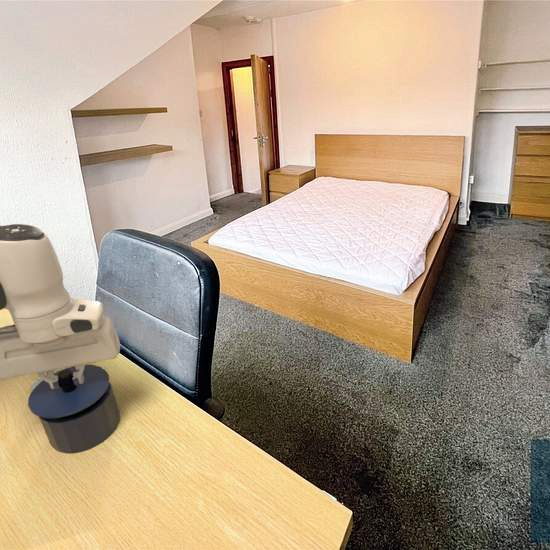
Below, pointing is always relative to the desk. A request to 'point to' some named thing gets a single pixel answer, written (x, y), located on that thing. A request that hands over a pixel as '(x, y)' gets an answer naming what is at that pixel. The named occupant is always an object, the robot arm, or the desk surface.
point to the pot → (84, 425)
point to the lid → (69, 393)
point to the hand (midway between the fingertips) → (68, 384)
